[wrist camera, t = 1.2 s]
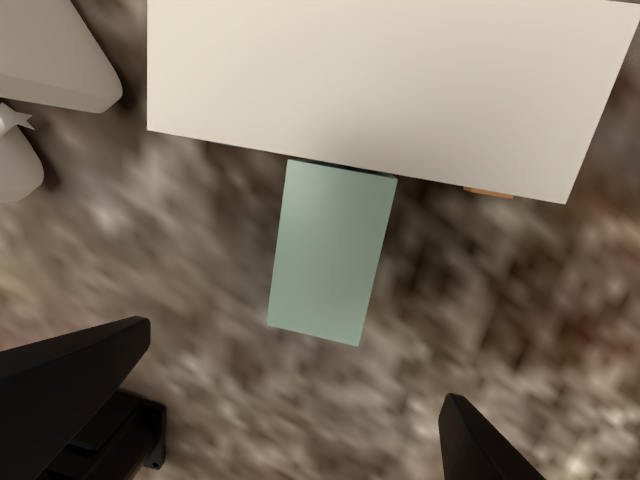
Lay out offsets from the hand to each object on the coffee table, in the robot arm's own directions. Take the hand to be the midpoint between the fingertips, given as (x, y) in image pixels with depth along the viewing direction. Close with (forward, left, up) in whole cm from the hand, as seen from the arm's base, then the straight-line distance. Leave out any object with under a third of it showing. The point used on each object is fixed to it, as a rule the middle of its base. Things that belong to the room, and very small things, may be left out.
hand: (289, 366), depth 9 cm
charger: (+3, 0, -10) cm, 11 cm away
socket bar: (+9, 0, -10) cm, 14 cm away
